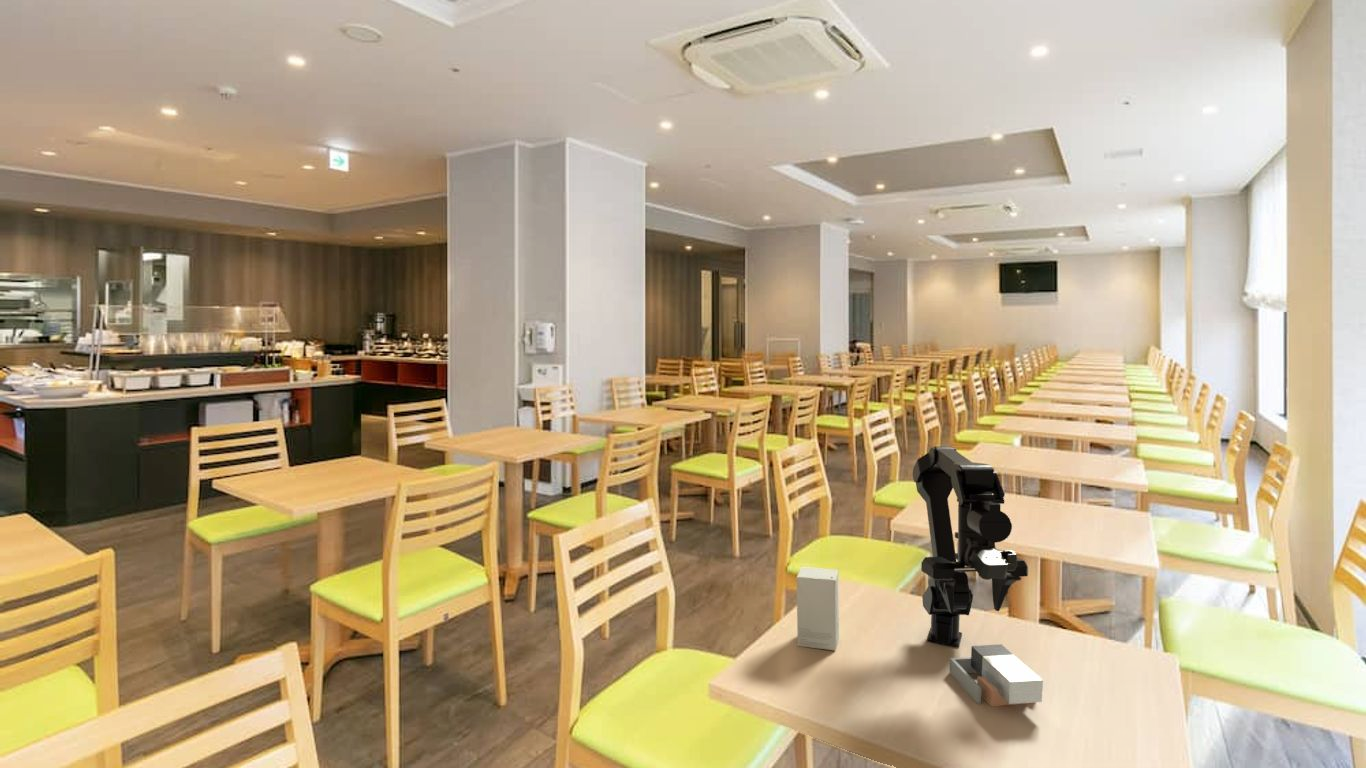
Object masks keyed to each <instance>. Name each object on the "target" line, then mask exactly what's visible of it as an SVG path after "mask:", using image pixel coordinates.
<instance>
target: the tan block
mask: <svg viewBox="0 0 1366 768" xmlns="http://www.w3.org/2000/svg"><path fill="white" fill-rule="evenodd" d="M976 683H977V684H978V685H979V686H980V687H981V688H982V689H981V698H983V699H984V700H985V701H986V702H987V703H988V704H989V705H990V706H991V707H997V706H1000V707H1001V706H1011V705H1012V706H1013V705H1027V704H1029V703H1017V704H1008V703H1007V702H1006V701H1005V700H1004V699H1003V698H1002V697H1001V696H1000V695H999V694H998V693H997V692H996V691H995V690H994V689H993V688H992V687H991V686H990V685H989V684H988V683H987V682H986V681H985V680H984V679H983V678H982V677H981V676H980V675H977V680H976Z"/></svg>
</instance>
